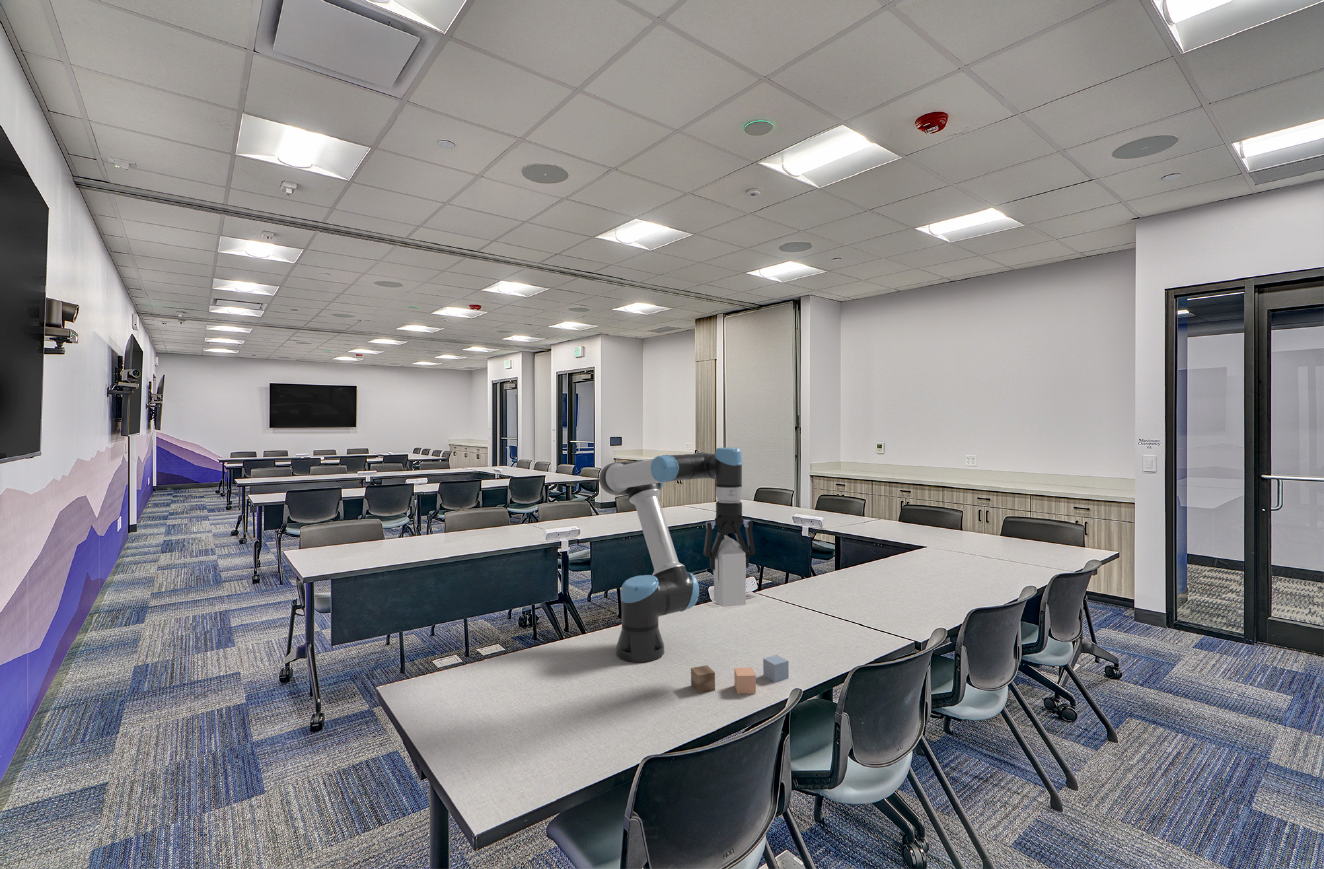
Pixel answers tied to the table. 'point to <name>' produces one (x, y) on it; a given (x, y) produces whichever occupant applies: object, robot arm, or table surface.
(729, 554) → the milk carton
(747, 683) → the terracotta cube
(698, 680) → the walnut cube
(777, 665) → the slate cube
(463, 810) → the table surface
